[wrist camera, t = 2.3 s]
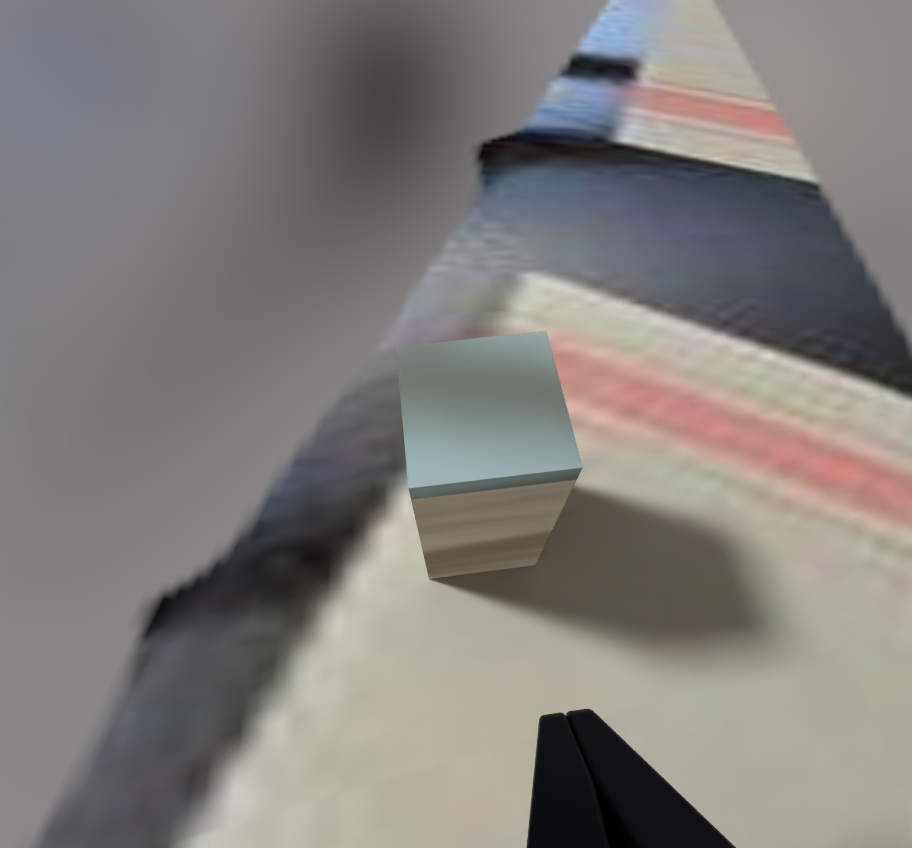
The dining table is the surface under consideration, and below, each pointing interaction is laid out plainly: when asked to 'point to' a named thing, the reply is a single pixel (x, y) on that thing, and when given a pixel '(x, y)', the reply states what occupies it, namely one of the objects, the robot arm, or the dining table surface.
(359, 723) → the dining table surface
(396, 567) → the dining table surface
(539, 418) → the beech block
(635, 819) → the robot arm
